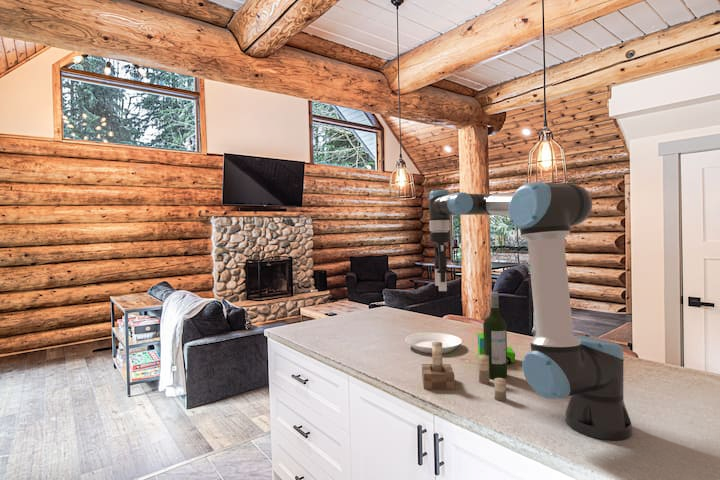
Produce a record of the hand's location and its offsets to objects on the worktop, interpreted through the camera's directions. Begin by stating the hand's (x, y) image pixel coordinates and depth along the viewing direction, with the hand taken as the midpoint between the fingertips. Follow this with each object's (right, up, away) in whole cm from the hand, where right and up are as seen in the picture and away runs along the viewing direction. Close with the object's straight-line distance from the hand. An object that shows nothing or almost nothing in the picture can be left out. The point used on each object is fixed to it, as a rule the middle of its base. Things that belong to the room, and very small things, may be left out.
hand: (440, 288), depth 150 cm
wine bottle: (+18, -31, -7) cm, 37 cm away
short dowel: (+13, -31, -26) cm, 43 cm away
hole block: (-4, -31, -13) cm, 34 cm away
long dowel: (-4, -31, -13) cm, 34 cm away
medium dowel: (+13, -31, -12) cm, 36 cm away
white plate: (+3, -31, +30) cm, 43 cm away
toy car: (+24, -31, +9) cm, 40 cm away
